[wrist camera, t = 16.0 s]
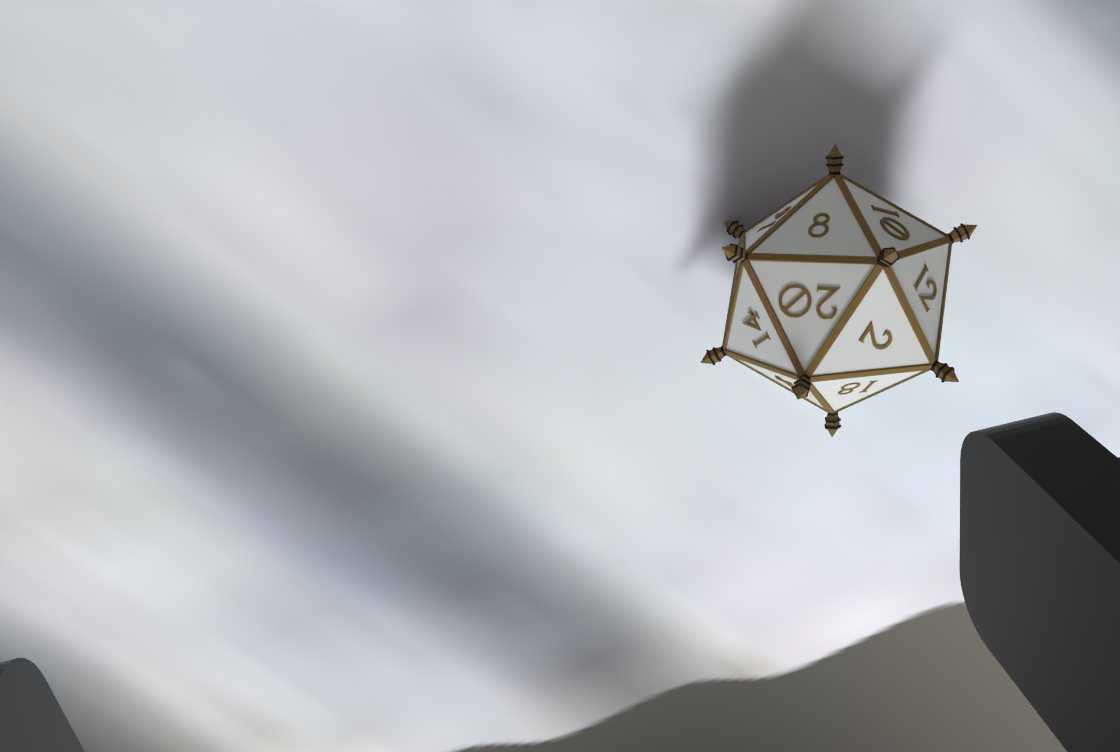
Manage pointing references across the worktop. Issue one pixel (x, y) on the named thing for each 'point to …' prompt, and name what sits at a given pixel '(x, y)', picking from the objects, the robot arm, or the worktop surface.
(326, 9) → the worktop surface
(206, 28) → the worktop surface
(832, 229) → the game die
